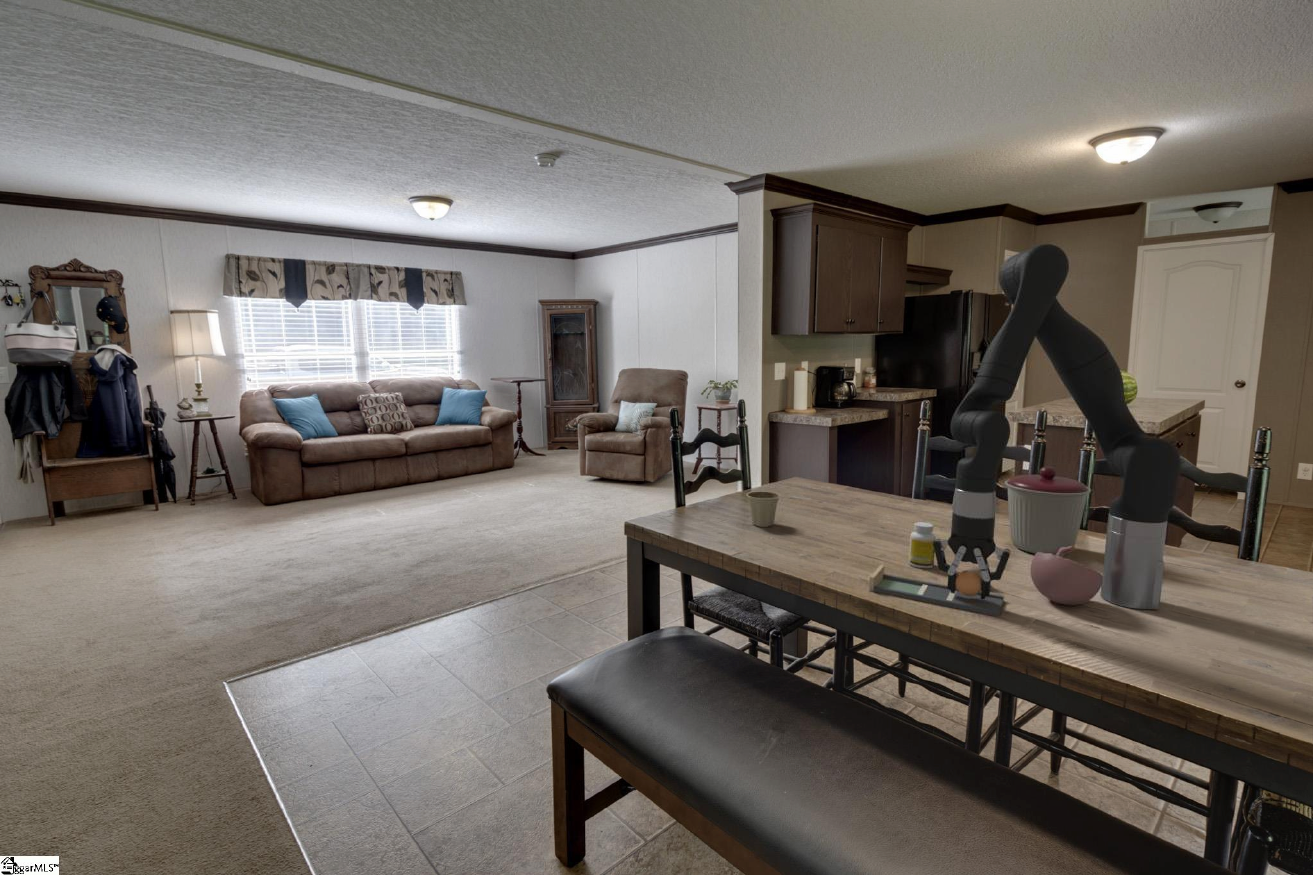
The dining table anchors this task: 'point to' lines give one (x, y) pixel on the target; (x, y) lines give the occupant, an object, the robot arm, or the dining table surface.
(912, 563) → the supplement bottle
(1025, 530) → the canister
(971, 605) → the lane
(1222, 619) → the dining table surface
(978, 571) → the beige brimmed cylinder
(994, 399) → the robot arm
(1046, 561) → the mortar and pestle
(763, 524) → the flower pot
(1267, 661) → the dining table surface
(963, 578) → the ball
